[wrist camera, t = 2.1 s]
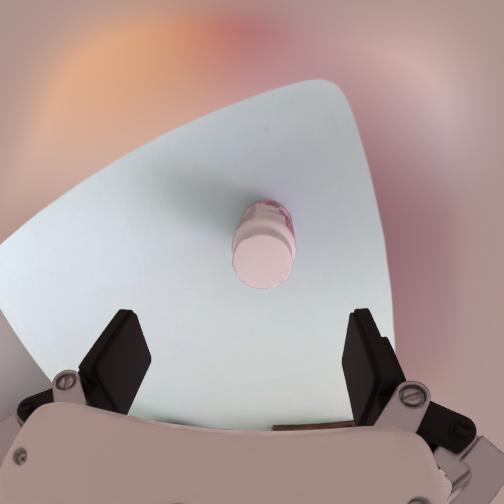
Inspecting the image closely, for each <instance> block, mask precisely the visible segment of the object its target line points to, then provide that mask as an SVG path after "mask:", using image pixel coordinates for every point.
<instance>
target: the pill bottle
mask: <svg viewBox="0 0 504 504" xmlns="http://www.w3.org/2000/svg"><path fill="white" fill-rule="evenodd" d="M295 253H296V242H295V236H294V231H293V225H292V220H291V217H290V214H289V213H288V211H287V210H286V209H285V208H284V207H283V206H282V205H280V204H279V203H277V202H274V201H269V200H264V201H259V202H256V203H254V204H252V205H251V206H249V207H248V208H247V209H246V210H245V212H244V213H243V215H242V217H241V220H240V222H239V225H238V227H237V229H236V232H235V235H234V237H233V241H232V254H233V258H232V263H233V268H234V271H235V273H236V275H237V276H238V277H239V279H240V280H241V281H243V282H244V283H245V284H247V285H249V286H251V287H254V288H258V289H268V288H272V287H275V286H277V285H279V284H281V283H282V282H283V281H284V280H285V279H286V278H287V277H288V275H289V274H290V272H291V269H292V262H293V260H294V257H295Z"/></svg>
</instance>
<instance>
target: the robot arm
mask: <svg viewBox="0 0 504 504" xmlns="http://www.w3.org/2000/svg"><path fill="white" fill-rule="evenodd" d="M150 363H151V355H150V352H149V349H148V346H147V344H146V341H145V338H144V335H143V332H142V329H141V326H140V323H139V320H138V317H137V315H136V314H135V313H134V312H133V311H132V310H126V309H120V310H119V311H118V312H117V313H116V315H115V316H114V317H113V319H112V320H111V322H110V323H109V324H108V326H107V327H106V328H105V330H104V331H103V332H102V334H101V335H100V337H99V338H98V339H97V341H96V342H95V344H94V345H93V346H92V348H91V349H90V351H89V352H88V353H87V355H86V356H85V358H84V359H83V361H82V362H81V364H80V365H79V367H78V368H79V369H80V370H79V371H78V373H77V372H76V371H74V370H64V371H62V372H60V373H59V374H57V375H56V377H55V378H54V380H53V382H52V388H51V389H49V390H46V391H44V392H41V393H39V394H36V395H33V396H31V397H28V398H26V399H24V400H23V401H22V402H21V403H20V404H19V406H18V409H17V414H15V412H13V413H12V414H10V415H9V416H8V417H6V418H5V419H3V420H2V421H0V504H490V502H491V501H492V500H493V498H494V497H495V496H496V494H497V493H498V492H499V490H500V489H501V487H502V486H503V484H504V453H503V452H502V451H500V450H499V449H498V448H497V447H495V446H494V445H493V444H492V443H491V442H490V441H488V440H487V439H486V438H485V437H484V436H481V437H479V436H477V434H476V427H475V424H474V422H473V421H472V420H471V419H469V418H468V417H466V416H463V415H461V414H459V413H456V412H454V411H451V410H450V409H447V408H445V407H443V406H441V405H438V404H436V403H434V402H432V401H430V399H431V395H430V391H429V389H428V388H427V387H426V386H425V385H424V384H422V383H420V382H417V381H406V378H405V376H404V374H403V371H402V369H401V367H400V365H399V362H398V360H397V357H396V355H395V353H394V350H393V348H392V346H391V344H390V342H389V340H388V338H387V337H381V335H380V333H379V330H378V328H377V326H376V324H375V322H374V319H373V317H372V315H371V313H370V311H369V309H368V308H363V309H355V310H354V313H350V316H349V322H348V328H347V334H346V340H345V345H344V351H343V356H342V367H343V372H344V376H345V380H346V385H347V389H348V394H349V399H350V403H351V408H352V413H353V418H354V423H355V426H356V427H347V428H334V429H320V430H298V431H246V430H227V429H214V428H203V427H194V426H186V425H179V424H172V423H165V422H159V421H153V420H148V419H143V418H138V417H133V416H128V415H127V414H128V412H129V409H130V407H131V405H132V403H133V400H134V398H135V396H136V394H137V392H138V389H139V387H140V385H141V383H142V381H143V379H144V376H145V374H146V372H147V370H148V368H149V366H150ZM439 469H442V470H443V471H444V472H445V473H446V474H445V476H446V477H447V478H448V479H449V480H450V482H451V483H452V491H451V494H450V495H449V497H448V498H447V499H446V494H445V490H444V486H443V482H442V478H441V475H440V472H439ZM408 502H409V503H408Z"/></svg>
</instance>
